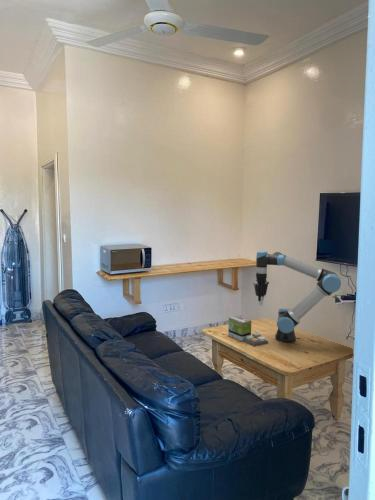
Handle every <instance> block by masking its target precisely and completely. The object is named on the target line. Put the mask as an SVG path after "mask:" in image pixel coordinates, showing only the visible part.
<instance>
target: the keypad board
mask: <svg viewBox="0 0 375 500" xmlns="http://www.w3.org/2000/svg"><path fill="white" fill-rule="evenodd" d="M242 342H244V343H245V344H247V345H249V344H250V346H252V347H259V346H263V345H264V346H265V345H268V344H269V340H267V339H266V340H265V341H263V342H260V341H259V342H258V343H253V342H251V341H249V340H247V339H246V338H245V339H243V341H242Z"/></svg>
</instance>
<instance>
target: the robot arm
mask: <svg viewBox="0 0 375 500" xmlns="http://www.w3.org/2000/svg"><path fill="white" fill-rule="evenodd" d="M255 257H256V260H255V261H256V263H255V264H256V266H255V268H256V269H255V271H256V274H255V278H256V280H255V282H253V284H252V285H253V287H254V294H255V296H257V297H258V299H257V301H258V306H261V307H263V304H264V297H265V296H267V291H268V286H269V284H270V282H269V281H267V278H268V277H267V276H268V266H279V267H280V266H283V267H285V268H289V269H291V270H293V271H296V272H298V273H300V274H303V275H305V276H308V277H310V278H313V279H315V281H316V287H315V288H313V289H312V290H311V291H310V292H309V293H308V294H307V295H306V296H305V297H304V298H302V299H301V300H300V301H298V303H297V304H296V305H295V306H294V307H292V308H279V309H278V312H277V313H278V315H277V316H278V317H277V321H276V327H277V331H276V333H275V336H274V337H275V338H274V339H275V340H276V341H277V342H280V343H287V344H288V343H289V344H292V343H295V342H296V341H297V336H296V332H295V327H296V326H298V324H300V321H301V319H302V318H303V317H305V316H306V315H307V313H308V312H310V311H311V310H312V309H314V307H315V306H317V304H319V303H320V302H321V301H322V300H323V299H324V298H325V297H330V296H332V294H333V293H336V292H337V291H339V290H340V289H341V286H342V281H341V278H340V277H339V275H338V274H337V273H336V272H334V271H331V270H328V269H325V268H322V267H321V268H318V267H316V266H313V265H311V264H309V263H305V262H303V261H301V260H298V259H295V258H293V257H291V256H288V255H286V254H283V253H281V252H279V251H276V252H273V254H270V253H268V251H266V250H259V251H257V252H256V256H255Z"/></svg>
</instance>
